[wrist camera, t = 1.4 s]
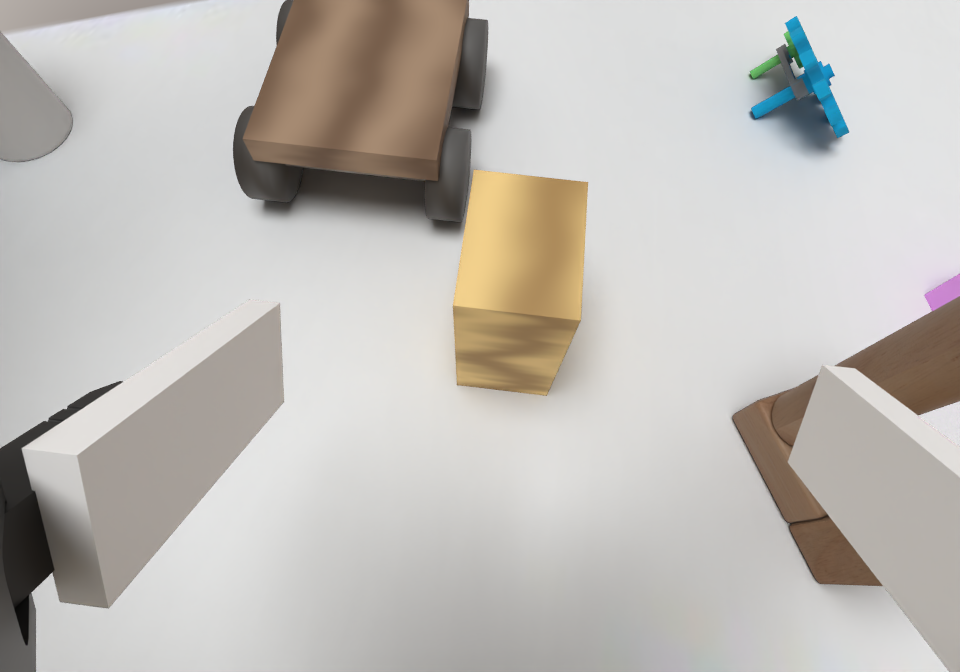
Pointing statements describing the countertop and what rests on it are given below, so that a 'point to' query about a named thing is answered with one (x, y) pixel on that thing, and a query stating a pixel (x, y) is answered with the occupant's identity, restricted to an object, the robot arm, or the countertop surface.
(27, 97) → the bottle
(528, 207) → the block
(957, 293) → the bracket
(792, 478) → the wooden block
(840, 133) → the gear
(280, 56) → the trolley
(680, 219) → the countertop surface
